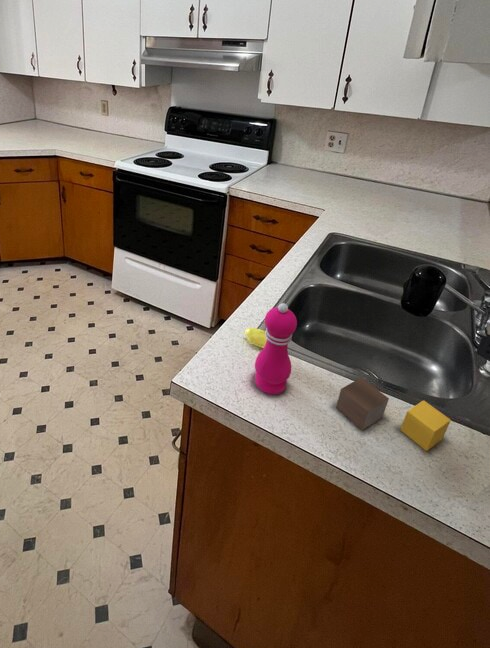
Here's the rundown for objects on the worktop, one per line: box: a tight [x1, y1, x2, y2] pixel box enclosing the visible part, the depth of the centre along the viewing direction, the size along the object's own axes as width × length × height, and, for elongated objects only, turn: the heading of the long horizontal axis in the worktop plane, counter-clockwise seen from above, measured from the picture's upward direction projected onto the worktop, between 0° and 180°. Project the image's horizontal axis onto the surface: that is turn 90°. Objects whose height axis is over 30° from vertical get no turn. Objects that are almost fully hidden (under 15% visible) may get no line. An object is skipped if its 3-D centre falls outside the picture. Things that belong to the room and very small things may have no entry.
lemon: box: [244, 327, 267, 349], centre depth 98 cm, size 4×8×4 cm, turn 46°
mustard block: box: [399, 399, 452, 452], centre depth 77 cm, size 5×5×5 cm
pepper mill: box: [254, 302, 298, 395], centre depth 84 cm, size 7×7×20 cm
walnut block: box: [335, 377, 390, 431], centre depth 81 cm, size 6×6×5 cm
